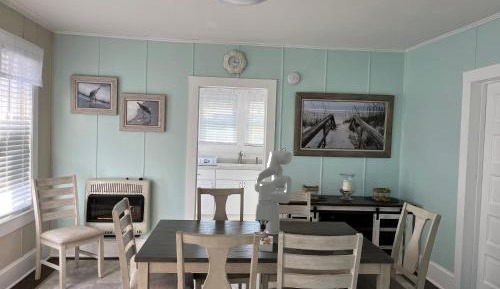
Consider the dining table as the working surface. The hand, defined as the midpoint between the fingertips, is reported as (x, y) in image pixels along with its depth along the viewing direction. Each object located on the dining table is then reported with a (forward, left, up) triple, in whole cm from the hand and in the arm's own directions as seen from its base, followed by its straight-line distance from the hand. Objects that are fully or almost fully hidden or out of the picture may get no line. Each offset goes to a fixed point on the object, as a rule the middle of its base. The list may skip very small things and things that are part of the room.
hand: (263, 230), depth 249 cm
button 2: (+13, +3, -5) cm, 14 cm away
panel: (+6, +2, -9) cm, 11 cm away
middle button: (+6, +2, -5) cm, 8 cm away
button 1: (0, 0, -5) cm, 5 cm away
